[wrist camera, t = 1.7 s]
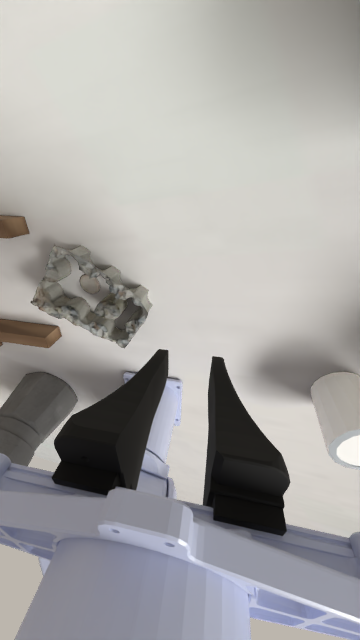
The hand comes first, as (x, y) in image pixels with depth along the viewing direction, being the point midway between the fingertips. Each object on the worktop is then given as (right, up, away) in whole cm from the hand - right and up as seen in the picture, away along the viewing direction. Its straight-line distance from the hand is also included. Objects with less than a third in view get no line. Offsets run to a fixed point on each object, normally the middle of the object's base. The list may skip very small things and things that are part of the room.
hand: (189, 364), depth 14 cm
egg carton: (-9, +6, +10) cm, 14 cm away
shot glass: (+18, -5, +11) cm, 21 cm away
